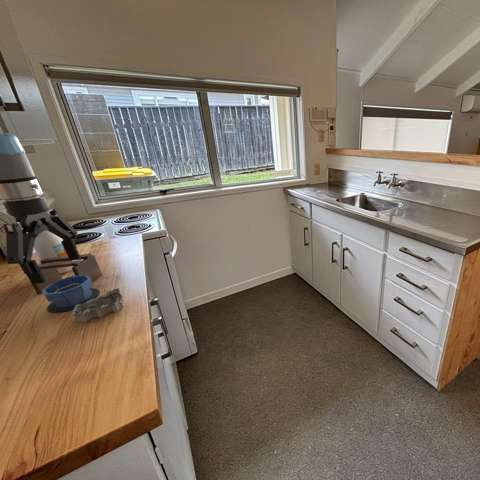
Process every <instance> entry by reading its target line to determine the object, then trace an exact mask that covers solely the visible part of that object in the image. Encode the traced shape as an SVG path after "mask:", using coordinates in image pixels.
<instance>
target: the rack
mask: <svg viewBox="0 0 480 480" xmlns="http://www.w3.org/2000/svg"><path fill="white" fill-rule="evenodd" d="M79 255H80V257H81V259H80V260H73V261H70V260H69V258H68V256H63V257H52V258H44V259H42V260H39V262H40V264H37V265H38V267H39V269H40V271H41V272H42V274H43V276H44V278H45V280H46V282H45V283H38V284H32V283H31V281H30V279H29V277H28V275H27V274H25V275H26V277H27V278H28V280H29V282H30V284H31V286H32V287H33V289H34V291H35V292H36V294H37V295H41V294H44V293H43V292H42V290H43V289H44V288H46V287H47V286H48V285H50V284H51V283H53V282H56V281H59V280H61V279H63V277H62V276H61V275H62V274H60V273H59V271H58V269H57V268H61V267H71V266H73V267H72V270H71V271H72V273H73V274H74V276H77V275H87V276H89V277H90V278H91V280H92V283H93V284H94V282H95V281H97V280H98V279H99V278H101V277H102V276H103V273H102V271H101V269H100V266H99V264H98V262H97V259H96V256H95V255H94V254H91V253H84V254H79ZM61 261H69V262H61ZM54 262H59V263H54ZM78 284H81V283H78Z"/></svg>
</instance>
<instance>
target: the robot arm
mask: <svg viewBox="0 0 480 480" xmlns="http://www.w3.org/2000/svg"><path fill="white" fill-rule="evenodd" d="M20 142H21V141H20V140H19V138H18V137H17V136H16V135H15V134H12V133H9V132H6V133H5V132H0V200H1V201H3V203H2V204H3V207H4V209H5V210H6V212H7V214H8V216H11V217H13V218H14V219H15V222H12V223H4V224H3V225H2V226H3V229H4V232H5V237H6V239H5V240H6V242H5V243H6V263H7V265H17V264H18V265H19V266H20V267H19V268H20V269H21V270H22V272H23V274H24V275H26V274H27V275H28V277H29V278H28V277H27V278H28V280H29V279H30V280H29V282H30V281H31V282H30V284H31V283H32V284H38V283H45V282H46V280H45V278H44V276H43V274H42V272H41V271H40V269H39V267H38V265H39V264H38V263H37V261H36V259H32V258H33V252H34V243H35V238H36V237H37V236H38V234H39V233H42V232H43V231H46V230H47V231H49V232H51V233H53V234H55V235H56V236H58V237H60V238H62V240H63V241H61V243H62V245H63V247H64V249H65V251H66V253H67V256H68V258H69V260H70V261H71V260H73V261H79V260H80V259H81V257H80V255H81V254H80V253H79V250H78V248H77V247H78V246H77V244H76V242H75V240H76V239H77V238H78V236H77V235H78V232H77V229H75V228H74V227H73V226H72V225H71V224H70V223H69V222H68V221H67V220H66V219H65V218H64V217H63V216H62V215H61V213H60V211H59V210H58V209H57V208H56V209H55V208H52V209H50V208H51V207H50V205H49V203H48V201H47V199H46V197H45V196H43V194H44V191H42V188H41V186H40V184H39V182H38V179H37V177H36V174H35V172H34V170H33V167H32V165H31V163H30V161H29V159H28V157H27V154H26V150H25V149H24V147H23V146H22V144H21V143H20ZM81 260H82V259H81ZM27 275H26V276H27ZM32 284H31V285H32Z"/></svg>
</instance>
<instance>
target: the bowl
mask: <svg viewBox="0 0 480 480" xmlns="http://www.w3.org/2000/svg"><path fill="white" fill-rule="evenodd" d="M79 283H81V284H79ZM93 286H94V282H93V283H92V280H91V278H90V277H89V276H87V275H77V276H75V275H71V276H68V277H65V278H62V279H61V280H59V281H56V282H53V283H51V284H50V285H48V286H47V287H46V288H44V289H43V290H42V292H43V293H42V294H43V295H44V297H45V299H46V300H47V302H49V303H52V302H54V304H55V305H56V307H58V308H66V307H70V306H74V305H77V304H79V303H81V302H83V301H85V300H87V299H88V298H90V297H91V295H92V290H91V288H93Z"/></svg>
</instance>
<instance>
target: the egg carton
mask: <svg viewBox="0 0 480 480" xmlns="http://www.w3.org/2000/svg"><path fill="white" fill-rule="evenodd" d="M123 302H124V298H123V296H122V294H121V291H120V288H112V290H108V291H107V292H105V294H101V295H100V296H97V297H96V298H95V299H92V300H90V301H87V302H86V303H83V304H82V305H81V304H78V305H75V307H74V309H73V310H71V311H72V313H71V315H73V317H74V318H75V320H76V322H77V323H82V324H84V323H87V322H89V321H90V320H91V319H94V318H102V317H105V315H106V314H108V313H112V312H113V313H117V312H119V311H120V310H122V309H123V308H124V304H123Z"/></svg>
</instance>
